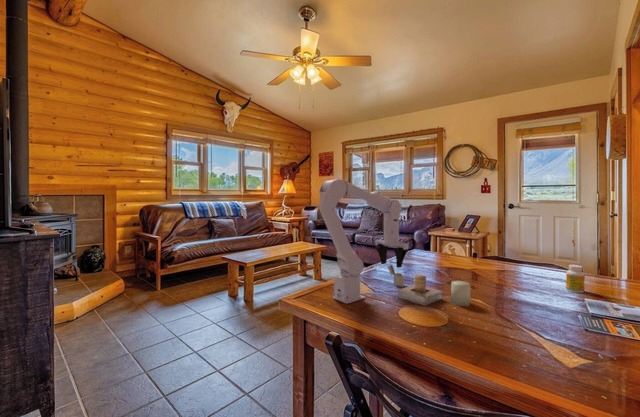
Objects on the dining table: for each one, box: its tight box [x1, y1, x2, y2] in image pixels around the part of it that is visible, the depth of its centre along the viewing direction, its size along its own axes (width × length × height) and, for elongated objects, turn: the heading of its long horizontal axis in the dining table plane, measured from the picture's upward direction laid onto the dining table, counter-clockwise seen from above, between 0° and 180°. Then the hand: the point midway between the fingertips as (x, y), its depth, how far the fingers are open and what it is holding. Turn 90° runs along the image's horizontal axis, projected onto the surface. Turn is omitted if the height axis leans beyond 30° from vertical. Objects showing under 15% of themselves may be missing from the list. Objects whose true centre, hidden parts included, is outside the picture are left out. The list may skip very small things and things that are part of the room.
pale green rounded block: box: [450, 280, 471, 307], centre depth 107 cm, size 6×6×7 cm
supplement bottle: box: [565, 264, 586, 294], centre depth 118 cm, size 5×5×10 cm
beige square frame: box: [397, 284, 443, 307], centre depth 112 cm, size 11×11×3 cm
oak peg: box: [413, 274, 427, 294], centre depth 111 cm, size 4×4×8 cm
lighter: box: [387, 264, 405, 288], centre depth 129 cm, size 7×2×8 cm, turn 44°
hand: (391, 265), depth 119 cm, fingers open, 7 cm apart
